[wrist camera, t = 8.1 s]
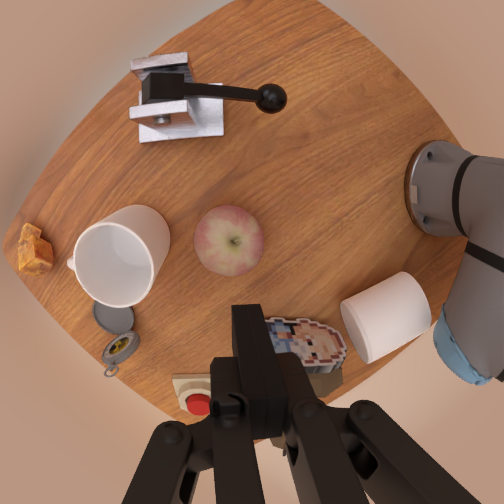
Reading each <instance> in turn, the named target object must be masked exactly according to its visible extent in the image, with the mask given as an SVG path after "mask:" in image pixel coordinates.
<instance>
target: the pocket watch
mask: <svg viewBox="0 0 504 504" xmlns="http://www.w3.org/2000/svg"><path fill="white" fill-rule="evenodd" d="M92 311H93V316H94V319H95V321H96V322H97V324H98V325H99V326H100V327H101V328H102V329H103V330H105V331H107V332H109V333H112V334H117V335H119V336H117V337H116V338H114V339H113V340H112V341H111V342H110V343H109V344H108V345H107V346H106V348H105V349H104V351H103V354H102V357H101V358H102V361H103V362H104V363H105V364H107V365H109V366H108V368H107V369H106V371H105V373H104V375H105V376H106V377H112V376H114V375H115V374H117V372H118V370H119V368H118V366H116V365H117V364H119V363H121V362H123V361H125V360H126V359H127V358H129V357H130V356H131V355H132V354H133V353H134V352H135V351H136V349H137V348H138V346H139V344H140V336H139V334H138V333H137V332H136V331H131V328H132V327H133V324H134V318H135V317H134V312H133V310H132V308H131V306H129V307H124V308H115V307H110V306H106V305H104V304H101V303H100V302H98V301H96V300H95V302H94V304H93V308H92ZM125 343H127V345H126V344H125ZM121 346H122V348H121ZM116 350H117V351H116ZM115 367H116V368H117V370H116V372H115V373H114V374H112V375H111V376H107V375H106V372H107V371H108V369H109V370H110V371H113V369H115Z"/></svg>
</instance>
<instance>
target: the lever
mask: <svg viewBox="0 0 504 504" xmlns="http://www.w3.org/2000/svg"><path fill="white" fill-rule="evenodd" d="M184 97H193V98H212V99H225V100H236V101H246V102H254V103H255V104H256V106H257V107H258V108H259V109H260V110H261V111H262V112H264V113H268V114H275V113H278V112H280V111H281V110H283V109H284V107H285V106H286V104H287V94H286V92H285V90H284V89H283V88H282V87H280V86H279V85H276V84H272V83H271V84H265V85H262V86H261V87H260V88H259V89H258V90H254V89H248V88H240V87H233V86H224V85H214V84H203V83H188V82H184V74H183V73H160V72H150V73H149V74H148V75H147V77H146V78H145V79H144V80H143V81H142V100H141V105H144V104H151V103H158V102H166V101H175V100H182V99H184Z"/></svg>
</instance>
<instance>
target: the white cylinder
mask: <svg viewBox="0 0 504 504" xmlns="http://www.w3.org/2000/svg"><path fill="white" fill-rule="evenodd" d="M340 311H341V315H342V318H343V322H344V324H345V327H346V330H347V332H348V335H349V337H350V339H351V341H352V344H353V346H354V347H355V349H356V351H357V353H358V355H359V356H360V358H361V359H362V360H363V361H364V362H365V363H368V364H369V363H371V362H373V361H375V360H377V359H379V358H381V357H383V356H385V355H386V354H388V353H390V352H392V351H394V350H396V349H397V348H399V347H401V346H403V345H404V344H406V343H408V342H409V341H411V340H413V339H414V338H416V337H418V336H419V335H421V334H423V333H424V332H426V331H427V330H428V329H429V328H430V325H431V312H430V307H429V304H428V301H427V298H426V296H425V294H424V292H423V290H422V288H421V287H420V285H419V284H418V282H417V281H416V280H415V279H414V278H413V277H412V276H411V275H410V274H408V273H406V272H399V273H397V274H395V275H393V276H392V277H390V278H388V279H386V280H384V281H382V282H380V283H378V284H376V285H374V286H372V287H370V288H368V289H366V290H364V291H362V292H360V293H358V294H356V295H354V296H352V297H350V298H348V299H345V300H343V301H342V302H341V303H340Z"/></svg>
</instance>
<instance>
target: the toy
mask: <svg viewBox="0 0 504 504" xmlns="http://www.w3.org/2000/svg"><path fill="white" fill-rule="evenodd" d="M265 321H266V325H267V328H268V331H269V334H270V337H271V340H272V343H273V346H274V349H275V352H276V353H283V352H294V353H295V354H296V355H297V356H298V357H299V358H300V359H301V362H302V364H303V367H304V369H305V371H306V374H313V373H329V372H332V371H333V370H334V369H337V368H340V366H341V364H342V363H343V362H344V360H345V358H346V351H347V346H346V344H345V342H344V340H343V338H342V336H341V334H340V332H339V331H337V330H334V328H332V327H329V326H328V325H320V323H319V322H317V321H310V319H308V318H297V319H296V321H286V320H285V318H282V317H271V318H270V320H265Z"/></svg>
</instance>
